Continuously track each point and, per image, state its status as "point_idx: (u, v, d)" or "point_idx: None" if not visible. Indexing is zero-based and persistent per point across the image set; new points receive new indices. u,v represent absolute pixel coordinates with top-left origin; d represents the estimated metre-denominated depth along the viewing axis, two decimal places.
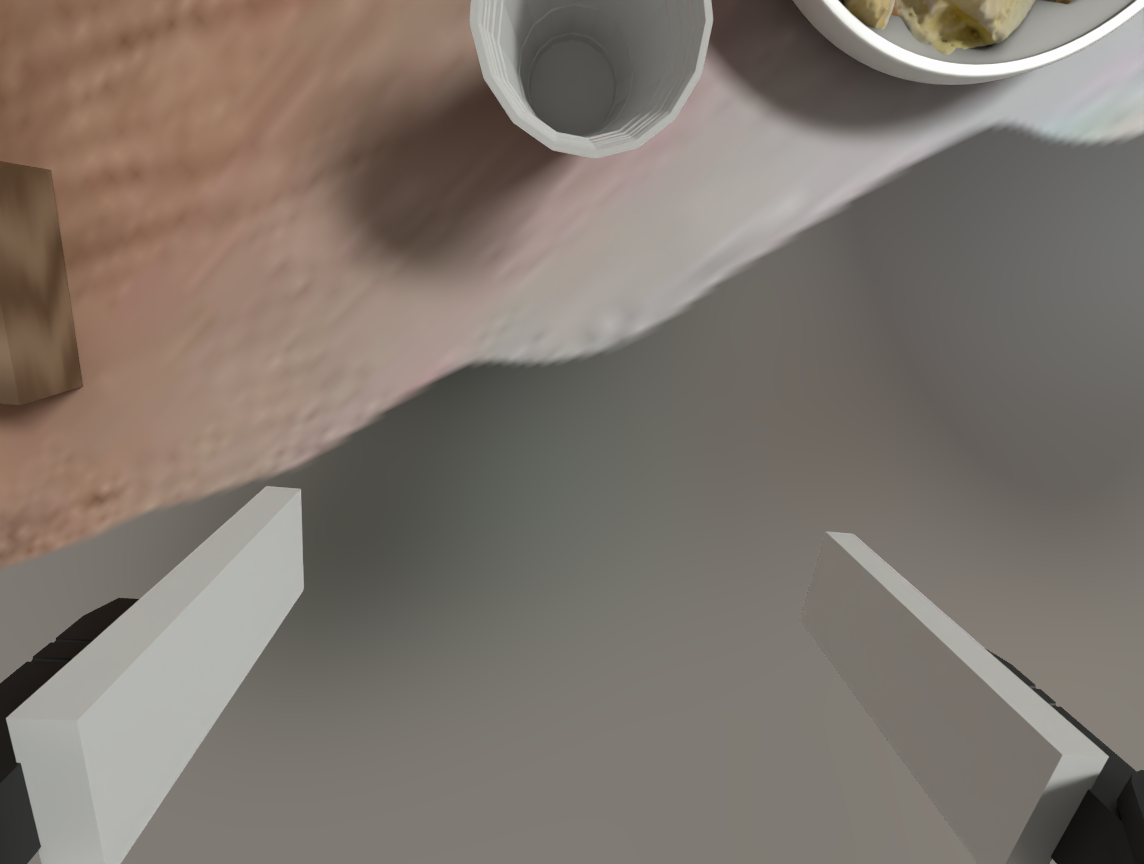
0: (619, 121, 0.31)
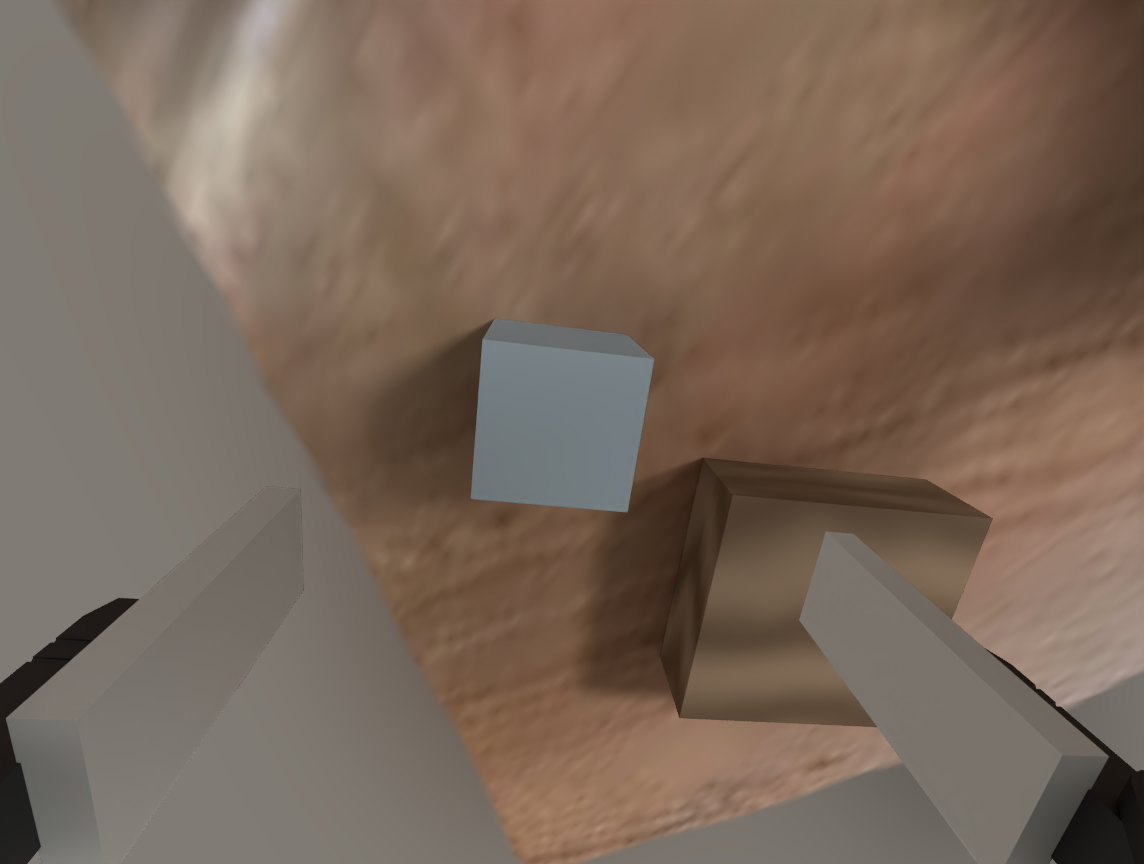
0: None
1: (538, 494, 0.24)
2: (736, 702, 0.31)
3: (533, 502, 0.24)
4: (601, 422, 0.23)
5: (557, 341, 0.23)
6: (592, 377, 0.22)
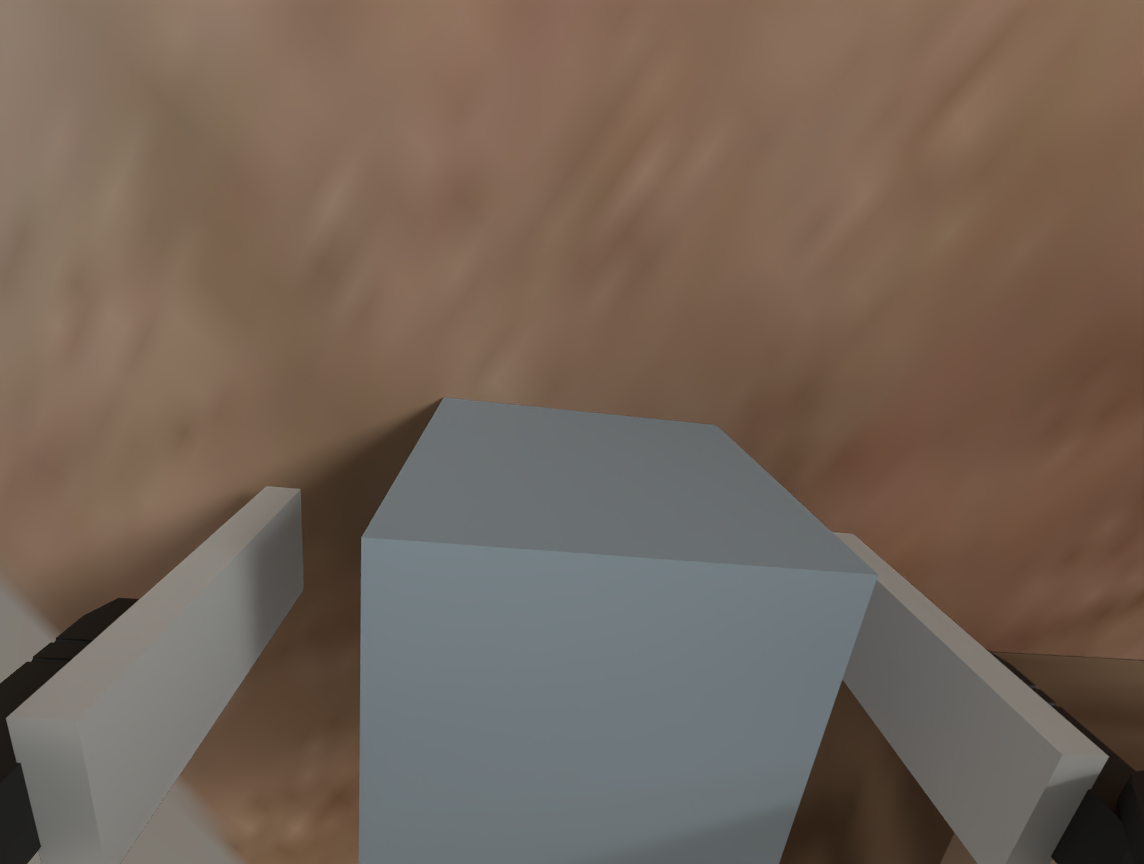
0: None
1: None
2: None
3: None
4: (713, 732, 0.08)
5: (588, 499, 0.09)
6: (695, 627, 0.08)
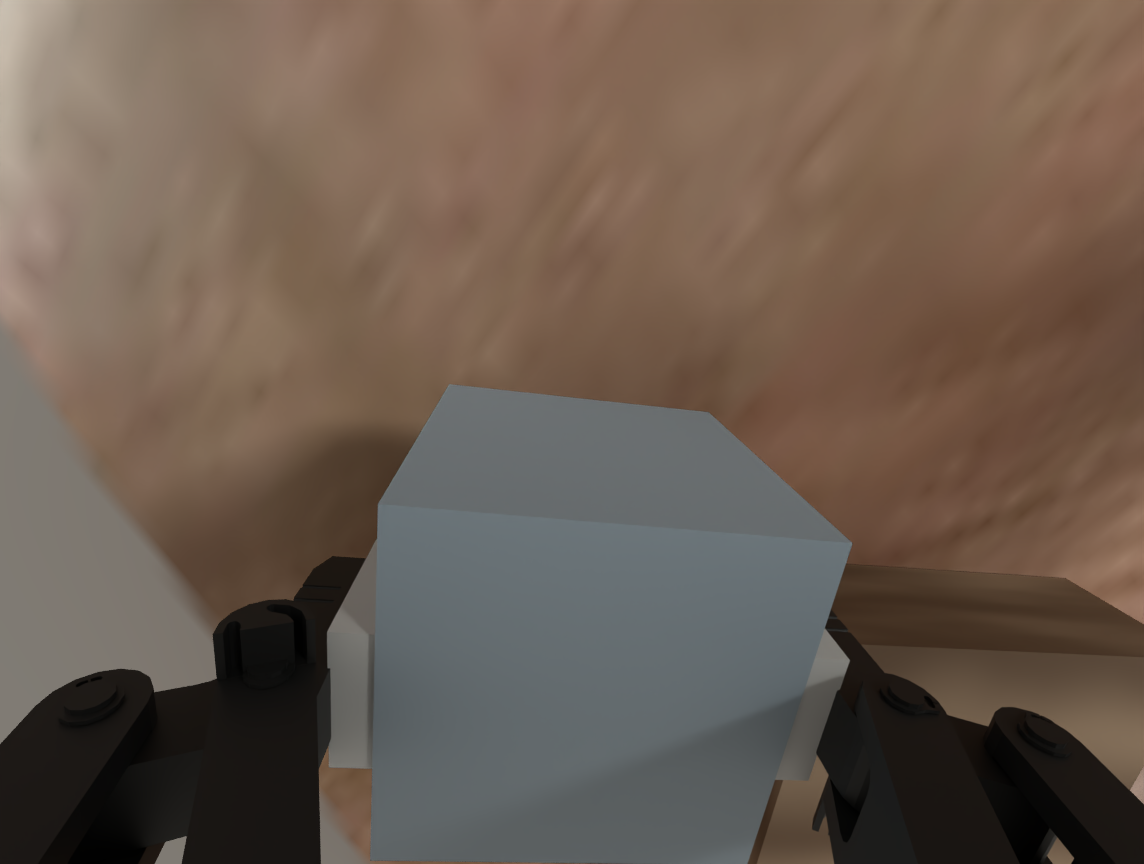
0: None
1: (537, 843, 0.10)
2: None
3: (525, 858, 0.10)
4: (701, 690, 0.09)
5: (586, 476, 0.09)
6: (684, 591, 0.08)
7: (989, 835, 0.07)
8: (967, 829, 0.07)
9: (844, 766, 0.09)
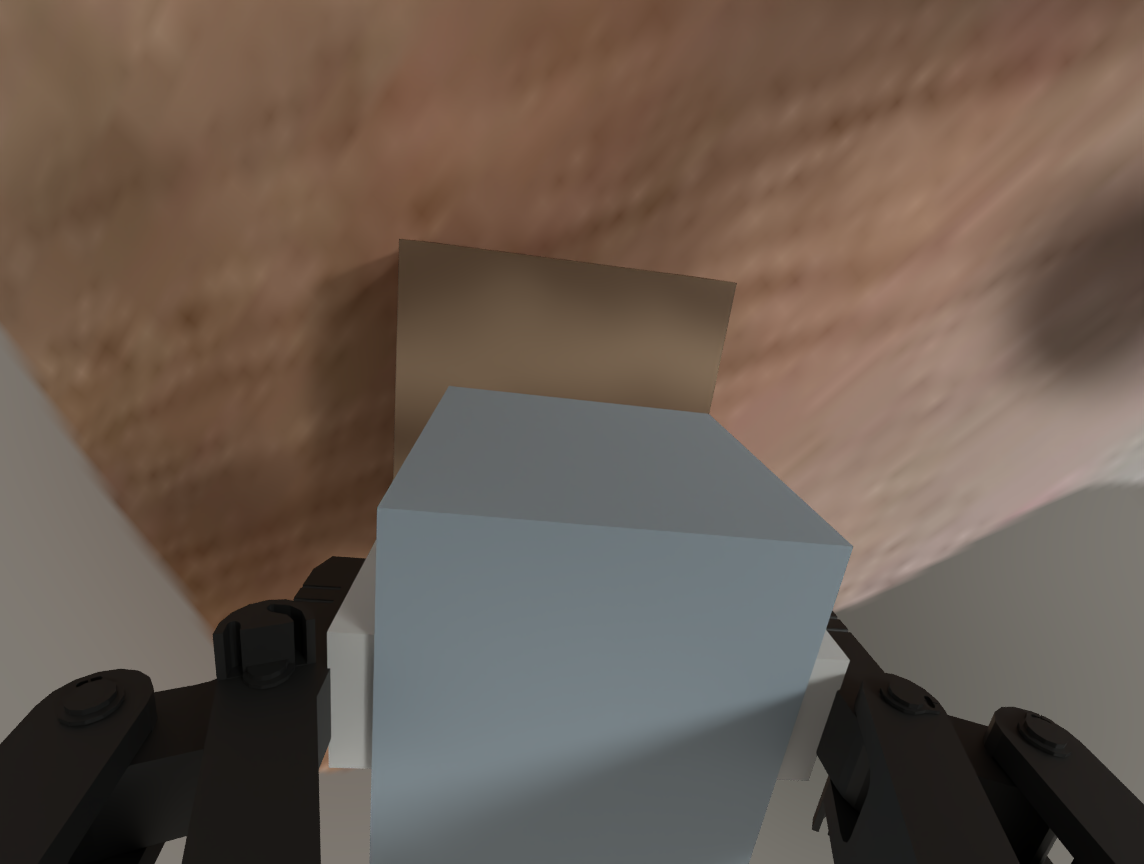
0: None
1: (537, 846, 0.10)
2: None
3: (525, 861, 0.10)
4: (701, 693, 0.09)
5: (586, 478, 0.09)
6: (684, 594, 0.08)
7: (989, 835, 0.07)
8: (967, 829, 0.07)
9: (844, 766, 0.09)
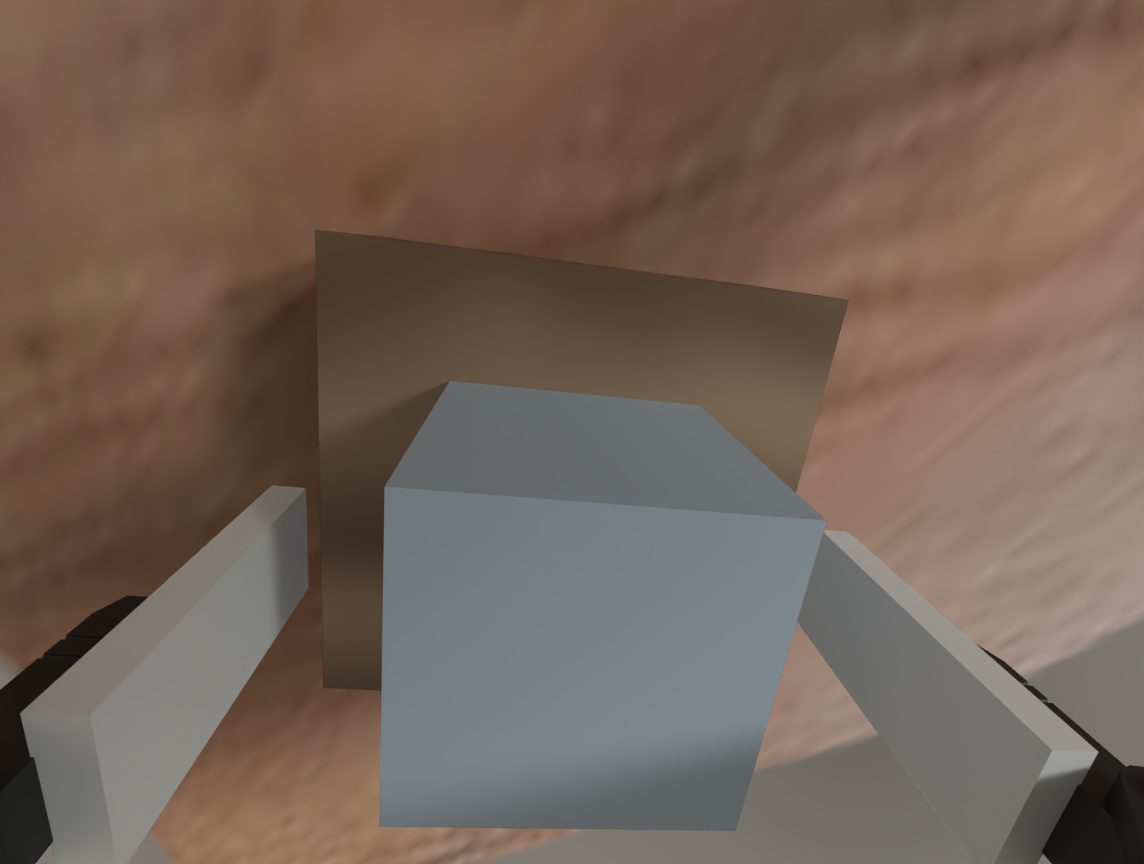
0: None
1: (537, 809, 0.10)
2: None
3: (526, 824, 0.10)
4: (687, 661, 0.10)
5: (578, 462, 0.10)
6: (669, 567, 0.09)
7: None
8: None
9: (1086, 863, 0.08)
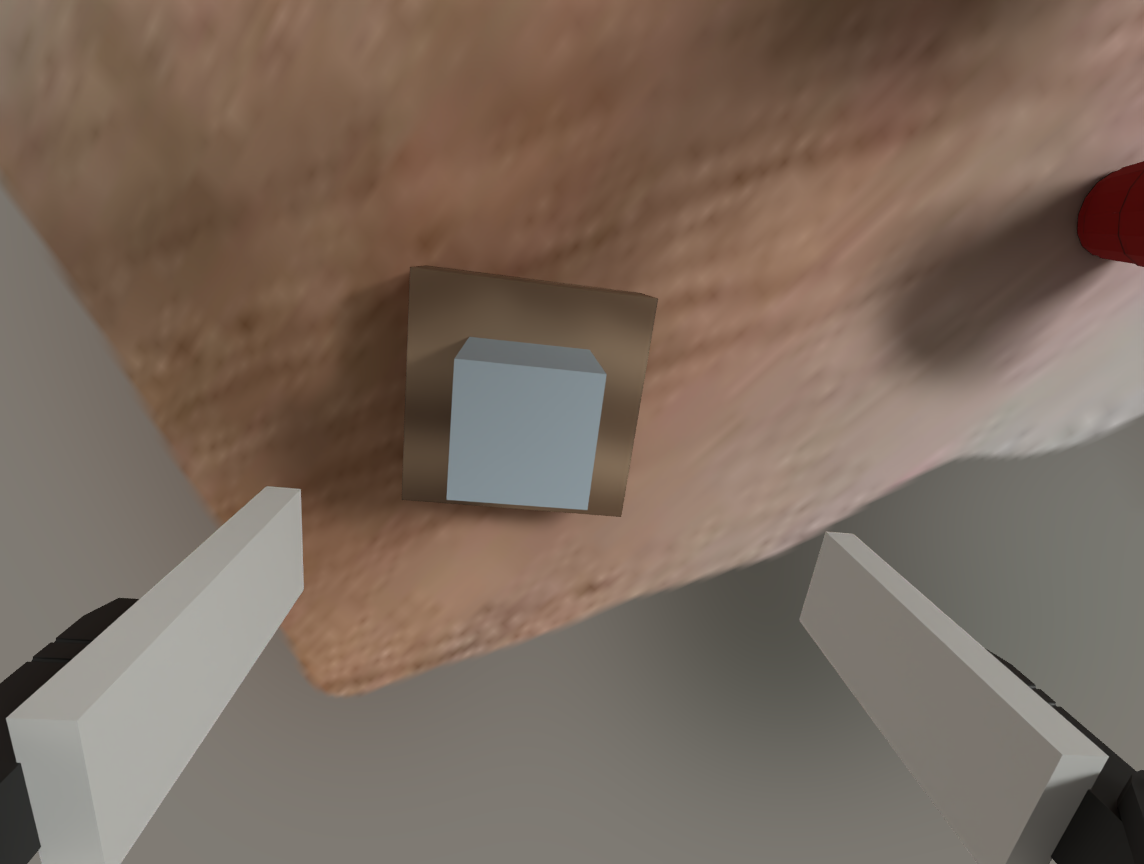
0: None
1: (507, 495, 0.27)
2: None
3: (503, 501, 0.27)
4: (561, 430, 0.26)
5: (522, 358, 0.26)
6: (552, 391, 0.25)
7: None
8: None
9: None
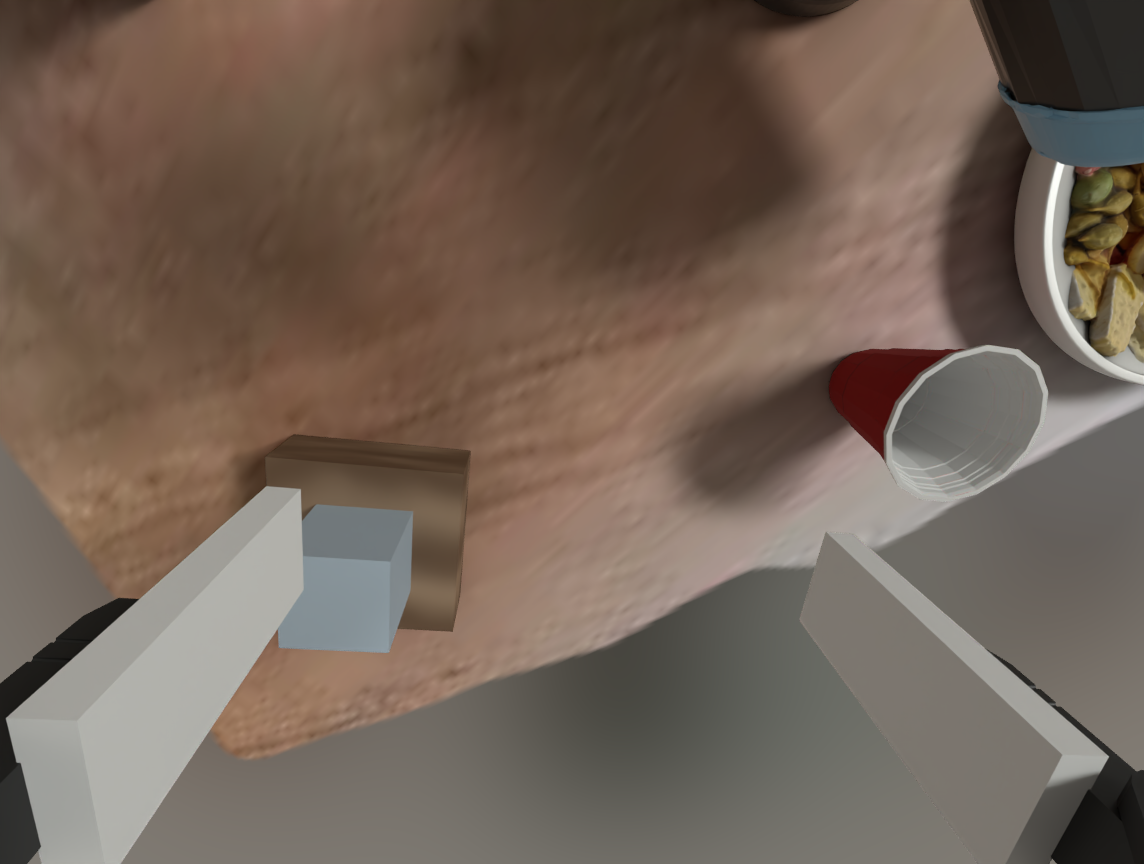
0: (923, 434, 0.42)
1: (325, 643, 0.36)
2: None
3: (322, 648, 0.36)
4: (361, 599, 0.35)
5: (334, 543, 0.35)
6: (350, 573, 0.34)
7: None
8: None
9: None
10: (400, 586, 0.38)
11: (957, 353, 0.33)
